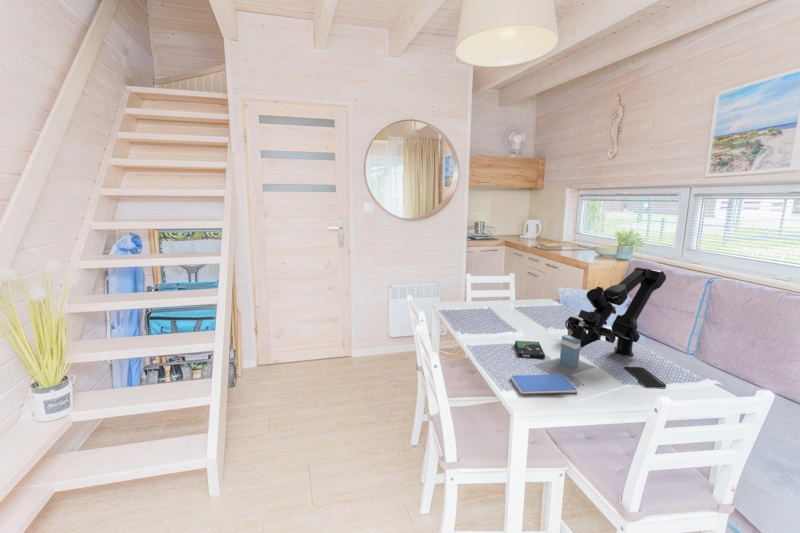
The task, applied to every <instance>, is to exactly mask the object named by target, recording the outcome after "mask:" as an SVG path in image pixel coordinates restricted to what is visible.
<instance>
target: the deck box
mask: <svg viewBox="0 0 800 533" xmlns="http://www.w3.org/2000/svg"><path fill="white" fill-rule="evenodd" d="M580 343H581V340H579V339H576V338H574V337H571V336H569V335H568V334H564V335H562V336H561V345H560V356H559V358H560V363H562V364H564V365H566V366H568V367H571V368H573V369H574V368H578V363H579V360H580V351H581V347H580Z"/></svg>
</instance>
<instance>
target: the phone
mask: <svg viewBox="0 0 800 533" xmlns="http://www.w3.org/2000/svg"><path fill="white" fill-rule="evenodd" d="M623 369H624V370H625V371H627V372H628V374H630V375H631V376H633V377H634V378H635V379H636V380H637V381H638V383H639V382H640V383H641V384H642V385H644V386H646V387H645V388H648V387H666V388H667V384H666V383H664V382H663V381H662V380H660V379H659V378H657V376H655V375H654V374H653V373H652V372H650V371H648V369H646V368H644V367H641V366H624V367H623ZM640 383H639V384H640ZM641 384H640V385H641ZM642 385H641V386H642ZM644 386H643V387H644Z"/></svg>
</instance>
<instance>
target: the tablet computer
mask: <svg viewBox="0 0 800 533" xmlns="http://www.w3.org/2000/svg"><path fill="white" fill-rule="evenodd" d="M510 380H511V381H512V382H513V385H515V387H516V389H517V390H518V391H519V393H520V394H522V395H526V394H527V395H529V394H530V395H531V394H534V395H535V394H563V393H564V394H565V393H567V394H568V393H570V394H571V393H574V394H575V393H579V390H578V388H577V387H576V386H575V385H574V384H573V383H572V382H571V381H570V380H569V379H568V378H567V377H566V376H564V375H563V374H550V373H548V374H526V375H525V374H524V375H523V374H521V375H519V374H517V375H511V376H510Z"/></svg>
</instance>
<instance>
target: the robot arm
mask: <svg viewBox="0 0 800 533" xmlns="http://www.w3.org/2000/svg"><path fill="white" fill-rule="evenodd" d="M666 280H667V275H666V274H665V272H664V271H662V270H656V269H651V268H648V267H641V266H637V267H635V268H634V270H633V271H632V272H631V273H630V274H629V275H627V276H626V277H625V278H624V279H622V280H621V281H620V282H619V283H617V284H615V285H610V286H609V287H607V288H606V289H604V288H603V287H601V286H596V287H595V288H593V289H590V290H588V291H587V293H586V298H587V300H588V301H589V303H590V304H591V306H592V307H593V308H594V310H593V311H592V310H590V311H586V310H584V309H580V310H579V314H578V316H577V317H578V318H577V317H574V316H569V317H568V318H567V319H566V320H567V322H568V323H569V324H570V326H571V327H572V328H573V329H575V330H578V336H577V339H579V340H581V344H580V349H581V348H584V347H585V346H587V345H589V344H592V343H594V342H597V341H601V338H602V337H605V338H604V339H605V341H606V342H608V343H610V344H614V343H615V341H616V340H617V341H616V346H614V350H615V353H616V354H620V355H624V356H625V355H626V356H634V352H633V346H634V345H633V344H634V343H637V342H639V341H640V337H641V335H640V334H639V332H638V321H637V320H638V318H639V316H640V314H641V313H642V312H643V309H644V308H645V307H646V304H647V303H648V301H649V299H650V297H651V295H652V294H653V292H654V291H657V289H660V288H661V287H662V286H663V284H664V283H665V281H666ZM638 285H640V286H639V288H638V290H637V291H636V292H635V295H634V296H633V298H632V300H631V301H630V304H629V306H628V307H627V309H626V310H625V312H624V313H623V314H622V315H621V314H618V315H616V317H615V319H614V321H612V324H611V329H610V328H607V327H604V325H605V326H607V325H608V321H607V320H608V319H609V318H610V317H611V315H612V314H613V315H615V314H617V310H616V307H615V306H613V305H616V306H621V305H623V304H624V303H625V302H626V300H627V299H628V294H629V293H630V292H632V291H633V290H634V288H636V287H637V286H638ZM612 304H613V305H612ZM579 319H580V320H583V322H585V324H584V323H582V322H581V321H580V320H579ZM616 338H617V339H616Z"/></svg>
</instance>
